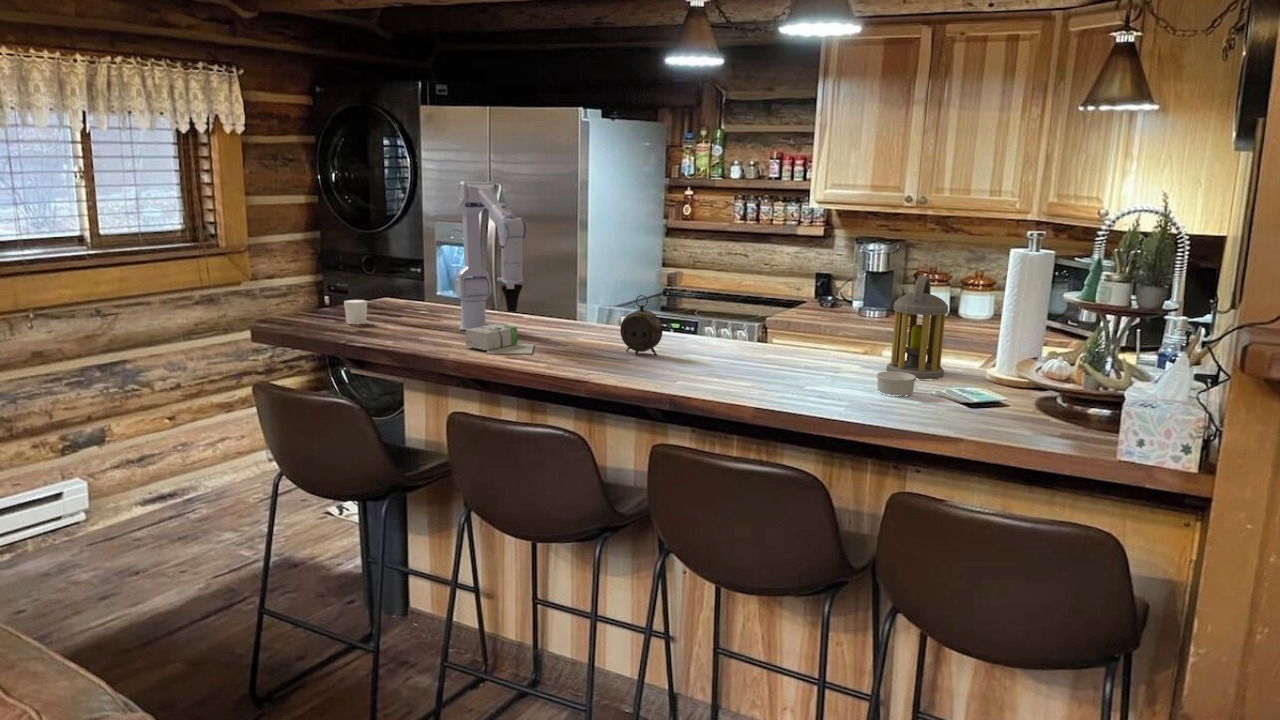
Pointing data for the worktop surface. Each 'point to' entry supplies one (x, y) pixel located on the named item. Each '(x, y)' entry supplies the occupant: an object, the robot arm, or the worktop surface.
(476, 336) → the ink box
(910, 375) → the ramekin
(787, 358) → the worktop surface
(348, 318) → the white cup
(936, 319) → the lantern
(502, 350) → the mat
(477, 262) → the robot arm
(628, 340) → the alarm clock
